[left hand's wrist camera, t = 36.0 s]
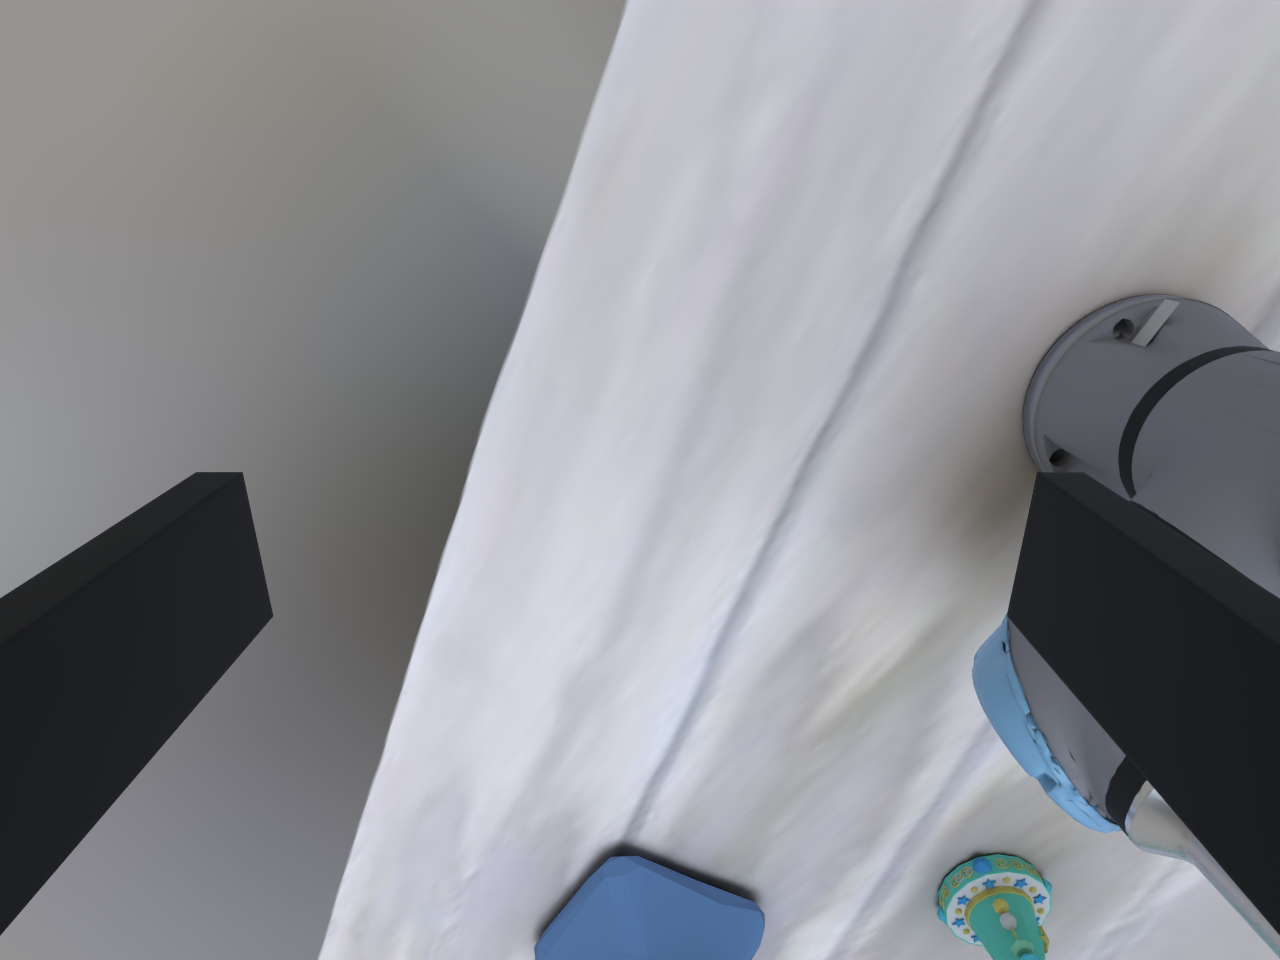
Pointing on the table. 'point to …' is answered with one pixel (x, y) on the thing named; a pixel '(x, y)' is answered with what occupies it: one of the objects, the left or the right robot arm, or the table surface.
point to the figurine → (651, 918)
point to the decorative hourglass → (998, 906)
